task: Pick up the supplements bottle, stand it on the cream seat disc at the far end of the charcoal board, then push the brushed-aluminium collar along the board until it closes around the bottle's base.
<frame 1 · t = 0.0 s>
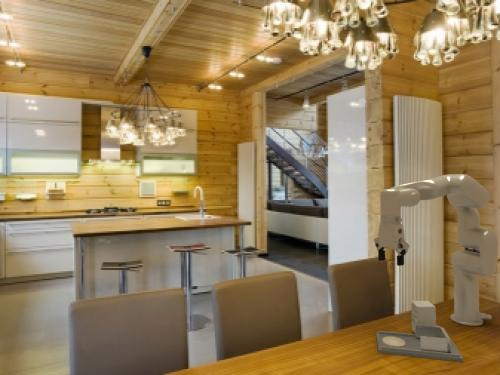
hand: (390, 262, 143), 31 cm above the table, tool pointing down, fingers open, 9 cm apart
base plate: (416, 347, 138), on the table
supplement box: (423, 334, 150), on the table
collar: (432, 338, 136), point 4 cm above the table, slide at 0.0 cm
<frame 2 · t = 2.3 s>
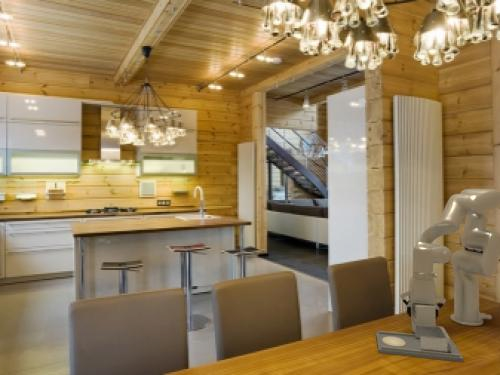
hand: (422, 317, 149), 7 cm above the table, tool pointing down, fingers open, 9 cm apart
nothing on the table moved.
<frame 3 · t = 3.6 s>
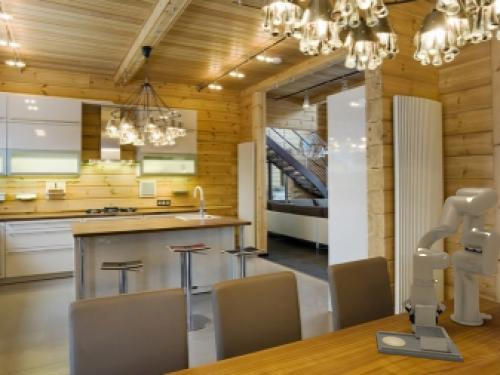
hand: (423, 323, 150), 4 cm above the table, tool pointing down, fingers closed on supplement box, 8 cm apart
supplement box: (423, 333, 150), on the table, touching gripper
everything else where it was.
when the fingers open (7 cm above the table, at t = 9.9 s): supplement box drops 1 cm, resting on base plate.
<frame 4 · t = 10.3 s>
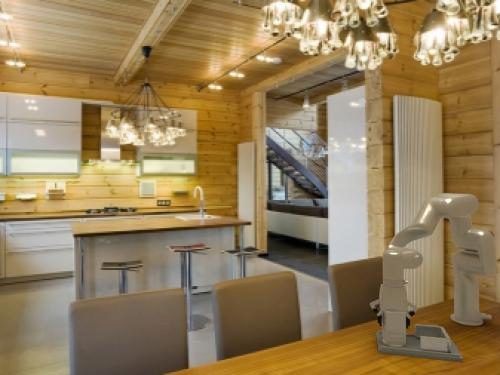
hand: (393, 326, 140), 7 cm above the table, tool pointing down, fingers open, 9 cm apart
supplement box: (393, 341, 140), point 1 cm above the table, touching base plate
everything else where it was.
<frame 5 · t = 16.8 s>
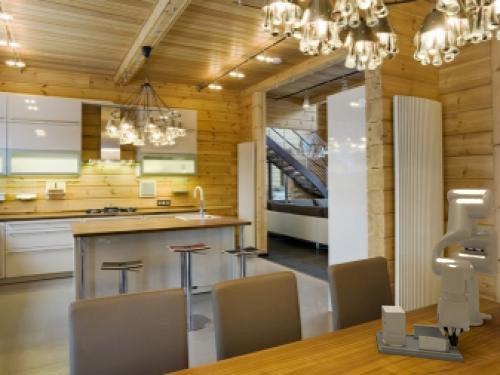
hand: (453, 344, 134), 2 cm above the table, tool pointing down, fingers closed
collar: (430, 338, 136), point 4 cm above the table, slide at 0.6 cm, touching gripper
everything else where it was.
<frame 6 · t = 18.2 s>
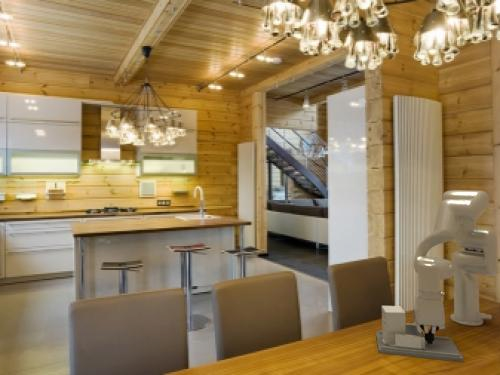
hand: (429, 342, 136), 2 cm above the table, tool pointing down, fingers closed
collar: (407, 335, 139), point 4 cm above the table, slide at 8.7 cm, touching gripper
everything else where it was.
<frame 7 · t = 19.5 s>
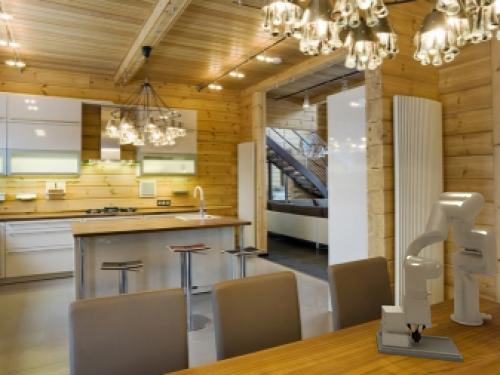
hand: (416, 341, 138), 2 cm above the table, tool pointing down, fingers closed
collar: (394, 334, 140), point 4 cm above the table, slide at 13.2 cm, touching gripper
everything else where it was.
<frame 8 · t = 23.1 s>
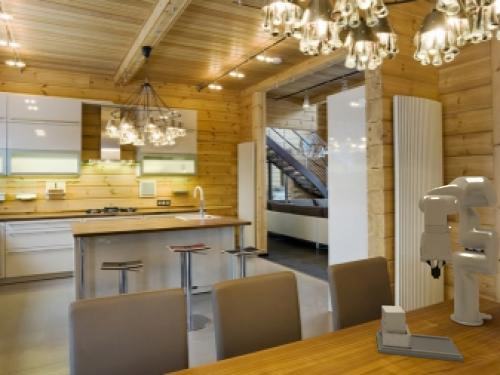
hand: (435, 278, 135), 27 cm above the table, tool pointing down, fingers closed
collar: (395, 334, 140), point 4 cm above the table, slide at 13.0 cm
everything else where it was.
at the end: supplement box 0.2 cm from the target spot on the base plate, point 1.3 cm above the base plate's base; supplement box tilted 0°; collar slide at 13.0 cm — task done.
